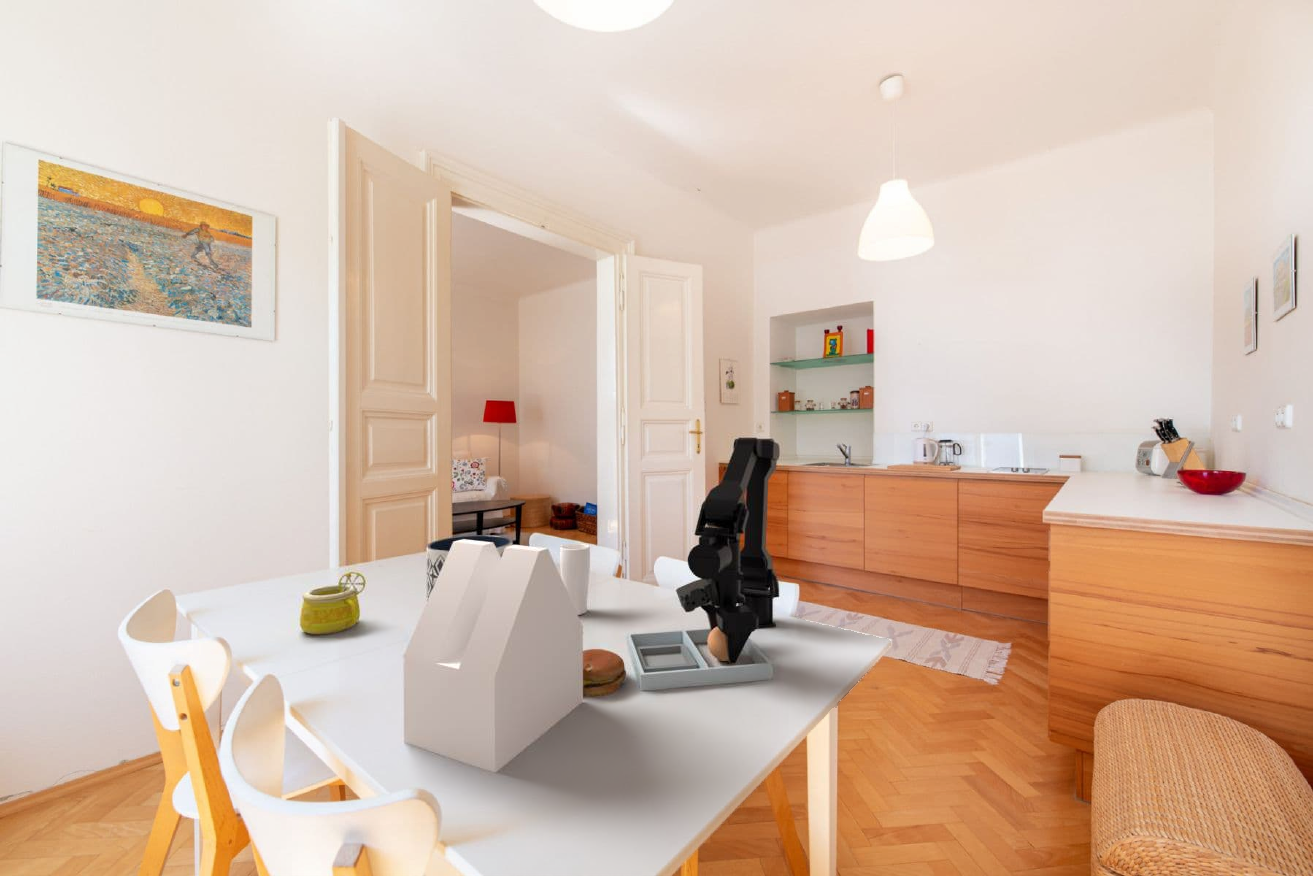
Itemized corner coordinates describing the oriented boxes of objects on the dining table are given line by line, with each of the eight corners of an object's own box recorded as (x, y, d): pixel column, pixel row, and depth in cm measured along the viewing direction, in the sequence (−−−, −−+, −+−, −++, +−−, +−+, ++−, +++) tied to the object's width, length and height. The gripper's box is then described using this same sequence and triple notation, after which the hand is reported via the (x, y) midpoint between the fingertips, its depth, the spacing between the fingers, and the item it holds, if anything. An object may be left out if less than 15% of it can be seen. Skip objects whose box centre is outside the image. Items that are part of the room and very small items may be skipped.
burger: (621, 669, 94) (621, 642, 94) (629, 694, 85) (629, 664, 85) (563, 674, 92) (563, 646, 92) (565, 701, 83) (565, 670, 83)
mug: (286, 633, 111) (286, 575, 111) (336, 616, 121) (335, 563, 121) (330, 642, 106) (330, 581, 106) (378, 624, 116) (378, 568, 116)
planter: (529, 611, 124) (529, 540, 124) (463, 637, 109) (463, 555, 109) (477, 599, 134) (476, 532, 134) (409, 620, 118) (408, 545, 118)
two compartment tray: (737, 638, 107) (737, 626, 107) (772, 679, 90) (772, 664, 90) (626, 646, 103) (626, 633, 103) (640, 690, 86) (640, 674, 86)
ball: (734, 651, 101) (734, 619, 101) (745, 665, 95) (745, 631, 95) (703, 654, 100) (703, 621, 100) (712, 667, 94) (712, 633, 94)
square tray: (684, 651, 101) (684, 643, 101) (697, 673, 92) (697, 665, 92) (633, 655, 99) (633, 647, 99) (641, 678, 90) (641, 669, 90)
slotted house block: (494, 773, 65) (494, 565, 65) (403, 742, 71) (403, 553, 71) (582, 702, 82) (582, 537, 82) (503, 682, 89) (502, 530, 89)
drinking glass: (593, 608, 126) (592, 543, 126) (586, 617, 120) (586, 550, 120) (564, 607, 127) (564, 543, 127) (556, 617, 120) (556, 549, 120)
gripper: (669, 556, 105) (669, 636, 105) (693, 582, 87) (693, 679, 87) (724, 553, 107) (725, 632, 107) (759, 578, 89) (759, 673, 89)
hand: (724, 652), depth 97 cm, fingers open, 9 cm apart
